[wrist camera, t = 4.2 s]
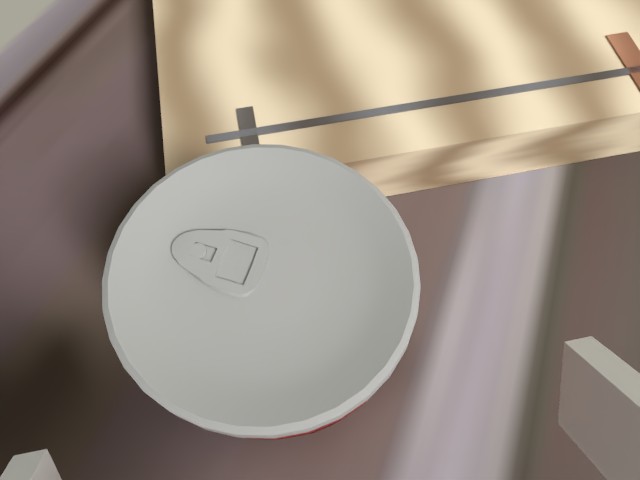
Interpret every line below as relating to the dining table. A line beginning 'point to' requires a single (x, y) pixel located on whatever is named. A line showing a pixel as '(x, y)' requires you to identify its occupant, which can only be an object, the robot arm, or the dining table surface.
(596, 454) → the robot arm
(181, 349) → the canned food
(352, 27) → the maple plank
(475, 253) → the dining table surface
